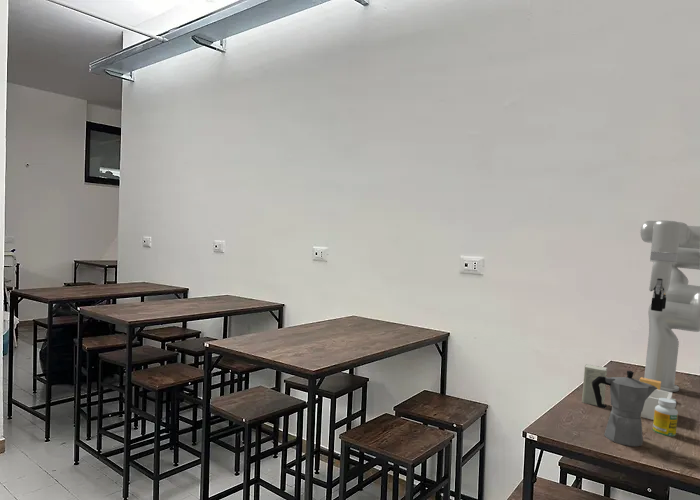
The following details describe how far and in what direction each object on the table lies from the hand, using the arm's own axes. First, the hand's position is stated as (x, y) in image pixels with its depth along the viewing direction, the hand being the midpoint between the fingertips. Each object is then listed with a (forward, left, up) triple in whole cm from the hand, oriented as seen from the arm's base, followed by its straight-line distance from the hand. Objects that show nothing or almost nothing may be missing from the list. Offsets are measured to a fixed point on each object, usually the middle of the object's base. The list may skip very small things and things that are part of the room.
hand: (658, 309), depth 165 cm
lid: (+3, 0, -30) cm, 30 cm away
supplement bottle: (+34, +7, -31) cm, 46 cm away
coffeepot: (+47, -2, -31) cm, 56 cm away
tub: (+19, 0, -30) cm, 36 cm away
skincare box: (+23, -13, -31) cm, 40 cm away
